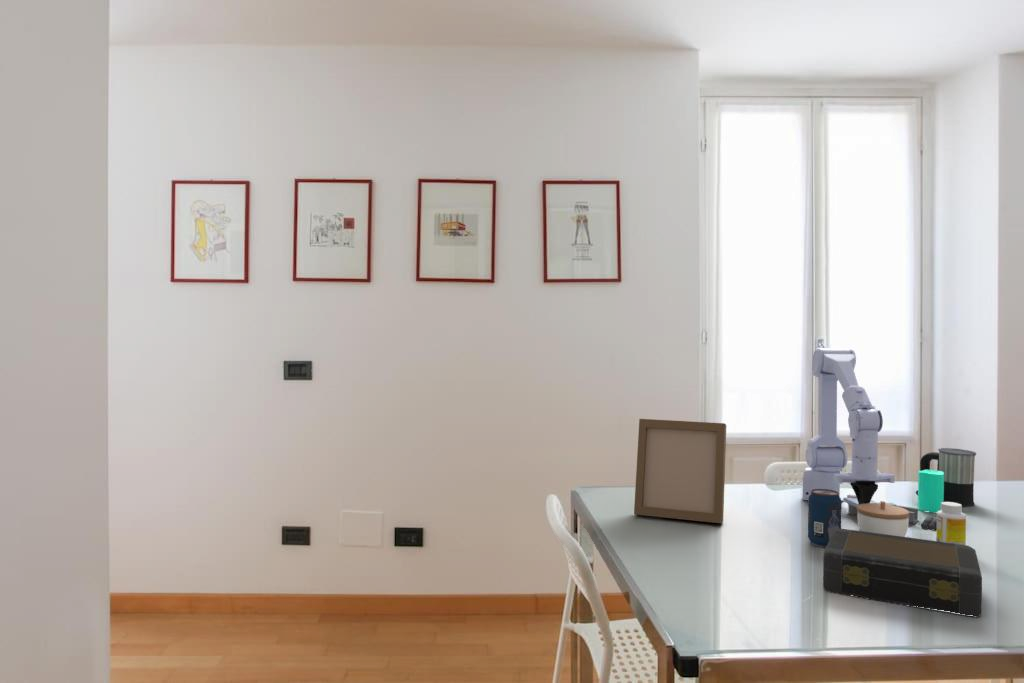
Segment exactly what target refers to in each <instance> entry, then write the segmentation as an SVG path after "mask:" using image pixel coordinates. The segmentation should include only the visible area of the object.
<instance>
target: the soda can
mask: <svg viewBox="0 0 1024 683" xmlns="http://www.w3.org/2000/svg"><path fill="white" fill-rule="evenodd" d="M811 492H812V493H811V494H810V496H809V498H808V502H807V504H808V509H807V510H808V511H807V517H808V518H807V538H808V540H809V541H810V543H811V545H813V546H815V547H820V548H825V549H826V547H827V544H828V542H829V540H830V537H831V535H832V533H833V531H834V530H836V529H842V504H843V503H842V502H843V501H841V499H840V498H841V496H840V497H839V493H838V492H837V491H833V490H828V489H813V490H811Z"/></svg>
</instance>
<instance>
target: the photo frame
mask: <svg viewBox="0 0 1024 683" xmlns="http://www.w3.org/2000/svg"><path fill="white" fill-rule="evenodd" d="M637 438H638V439H637V451H636V452H637V454H636V471H635V489H634V490H635V491H634V509H633V514H634V515H639V516H647V517H649V516H650V517H655V518H656V517H657V518H666V519H667V518H668V519H677V520H687V521H695V522H705V523H716V524H724V507H725V505H724V504H725V481H726V480H725V478H726V477H725V476H726V475H725V474H726V452H727V450H726V445H727V424H726V423H724V422H710V421H709V422H707V421H705V422H704V421H690V420H689V421H688V420H687V421H686V420H670V419H669V420H667V419H651V418H639V420H638V437H637Z"/></svg>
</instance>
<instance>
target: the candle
mask: <svg viewBox="0 0 1024 683" xmlns="http://www.w3.org/2000/svg"><path fill="white" fill-rule="evenodd" d="M917 474H918V475H917V476H918V477H917V478H918V480H917V484H918V485H917V489H918V495H917V508H918V510H919V509H920V510H919V511H921V510H923V511H922V512H924V511H929V512H938V511H940V510H941V503H942V502H944V473H943V471H937V469H932V466H931V465H930V470H923V471H920V470H918V473H917ZM929 512H928V513H929Z"/></svg>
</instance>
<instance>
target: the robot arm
mask: <svg viewBox="0 0 1024 683" xmlns="http://www.w3.org/2000/svg"><path fill="white" fill-rule="evenodd" d="M811 357H812V358H811V360H812V364H811V365H812V368H811V369H812V376H814V377H816V378H817V382H818V386H817V387H818V392H817V395H818V396H817V399H818V400H817V401H818V402H817V404H818V405H817V408H818V409H817V415H818V417H817V434H816V435H814V436H813V437H811V439H809V440H808V441H807V445H806V451H805V460H806V464H807V465H808V467H806V468H804V470H803V474H802V497H801V500H802V501H807V500H808V498H809V496H810V494H811V493H812V492H811V490H813V489H828V490H833V491H837V492H838V493H839V497H840V499H841V501H842V502H844V498H845V497H841V494H840V493H841V490H840V489H841V484H842V483H844V484H845V483H850V484H849V485H850V486H851V488H852V490H853V492H854V495H856V497H857V500H858V503H859V505H860V504H866V503H870V501H871V500H872V499H873V497H874V494H876V492H877V490H878V489H879V488H878V487H879V484H877V483H890V484H894V483H895V476H896V475H895V474H892V473H883V472H882V473H881V472H880V473H879V472H878V452H879V451H878V447H879V445H878V444H879V443H878V442H879V432H881V431H882V429H883V426H884V425H883V424H884V423H883V422H884V419H883V414H882V412H881V410H880V408H877V407H876V406H874V405H872V402H871V400H870V398H869V396H868V394H867V391H866V389H865V388H864V387H862V386H860V385H859V384H858V380H857V376H856V373H855V367H856V362H857V356H856V352H855V350H854V349H853V348H852V347H848V348H827V347H826V348H823V347H822V348H821V347H817V348H816V349H815V350H814V352H813V354H812V356H811ZM838 382H839V384H840V385H841V387H842V390H843V392H842V394H841V397H842V400H843V402H844V405H845V407H846V410H847V412H848V419H847V420H848V421H847V422H848V428H849V437H850V438H851V472H846V473H845V472H844V473H841V472H842V471H843V469H844V468H845V467H847V465H848V453H847V446H846V445H847V444H846V443H845V442H844V441H843V439H841V438H840V437H838V436H837V435H838V434H837V433H838V432H837V431H838V430H837V429H838V428H837V427H838V426H837V424H838V420H837V417H838V416H837V415H838V412H837V410H838Z"/></svg>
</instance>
